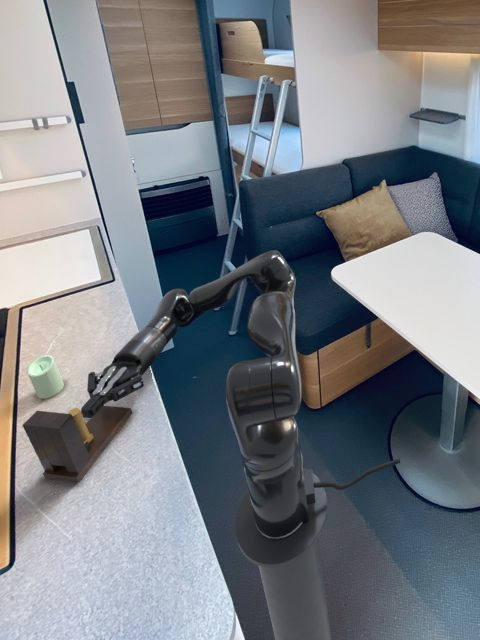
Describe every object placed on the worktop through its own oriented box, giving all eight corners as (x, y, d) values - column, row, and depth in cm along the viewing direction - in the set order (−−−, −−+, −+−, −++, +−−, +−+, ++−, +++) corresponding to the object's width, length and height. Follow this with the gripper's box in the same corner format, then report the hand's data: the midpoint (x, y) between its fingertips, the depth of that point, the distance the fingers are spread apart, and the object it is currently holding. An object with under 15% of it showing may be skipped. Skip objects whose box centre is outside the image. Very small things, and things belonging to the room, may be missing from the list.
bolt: (84, 436, 82) (72, 407, 79) (93, 437, 82) (82, 408, 79) (60, 466, 77) (46, 435, 74) (69, 467, 76) (56, 436, 73)
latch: (103, 410, 90) (85, 363, 85) (132, 412, 89) (116, 365, 84) (45, 478, 76) (19, 427, 71) (78, 482, 76) (55, 431, 70)
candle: (57, 396, 94) (46, 369, 91) (33, 401, 93) (20, 373, 90) (68, 380, 98) (57, 353, 95) (44, 383, 97) (33, 357, 94)
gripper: (170, 365, 97) (120, 431, 82) (120, 361, 99) (61, 425, 83) (164, 340, 95) (110, 404, 79) (111, 337, 96) (49, 398, 80)
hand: (85, 414), depth 81 cm, fingers closed
